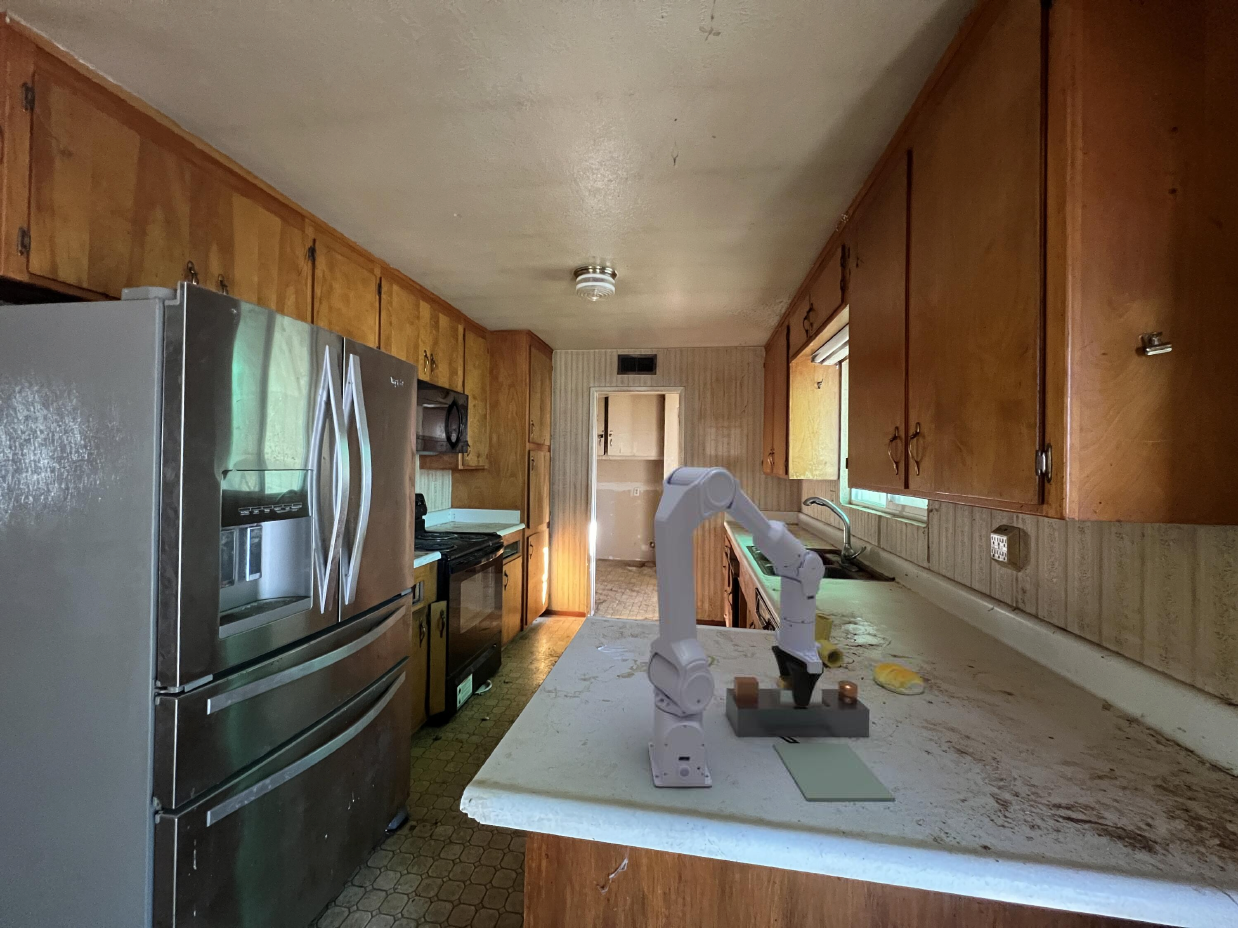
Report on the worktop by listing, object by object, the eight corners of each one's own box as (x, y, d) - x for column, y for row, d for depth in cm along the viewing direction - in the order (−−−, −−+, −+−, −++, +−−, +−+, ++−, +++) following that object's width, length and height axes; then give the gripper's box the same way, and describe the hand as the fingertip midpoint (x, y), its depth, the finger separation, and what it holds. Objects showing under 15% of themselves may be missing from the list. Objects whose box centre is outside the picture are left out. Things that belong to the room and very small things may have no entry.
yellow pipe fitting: (812, 648, 116) (775, 644, 114) (820, 608, 115) (783, 604, 114) (843, 674, 103) (802, 670, 102) (852, 630, 103) (811, 625, 101)
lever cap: (821, 705, 77) (822, 685, 77) (780, 705, 77) (780, 684, 77) (809, 691, 82) (809, 672, 82) (770, 691, 82) (770, 672, 82)
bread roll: (895, 674, 101) (895, 656, 101) (931, 694, 92) (932, 674, 92) (862, 677, 99) (863, 658, 99) (896, 697, 90) (897, 677, 90)
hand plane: (868, 736, 76) (870, 690, 76) (737, 736, 75) (738, 689, 75) (846, 713, 83) (847, 671, 83) (725, 713, 82) (726, 670, 82)
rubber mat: (895, 800, 62) (895, 797, 62) (806, 800, 61) (806, 797, 61) (847, 745, 74) (847, 743, 74) (773, 745, 73) (773, 743, 73)
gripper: (841, 633, 72) (839, 720, 72) (801, 605, 87) (800, 677, 87) (797, 632, 72) (795, 719, 72) (764, 604, 87) (763, 677, 87)
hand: (795, 696), depth 79 cm, fingers closed on lever cap, 5 cm apart
